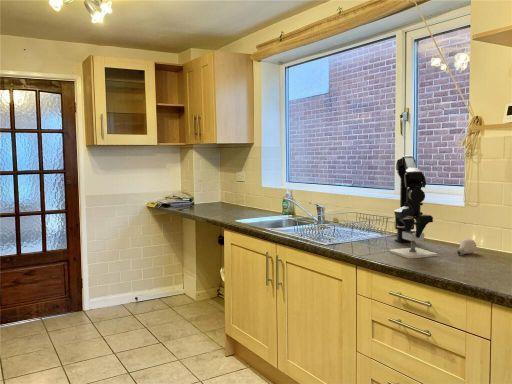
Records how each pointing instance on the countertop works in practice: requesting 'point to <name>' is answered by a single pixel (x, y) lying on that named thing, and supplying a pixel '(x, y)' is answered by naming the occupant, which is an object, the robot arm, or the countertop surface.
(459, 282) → the countertop surface
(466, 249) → the light bulb
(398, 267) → the countertop surface
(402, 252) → the plate
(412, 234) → the link
